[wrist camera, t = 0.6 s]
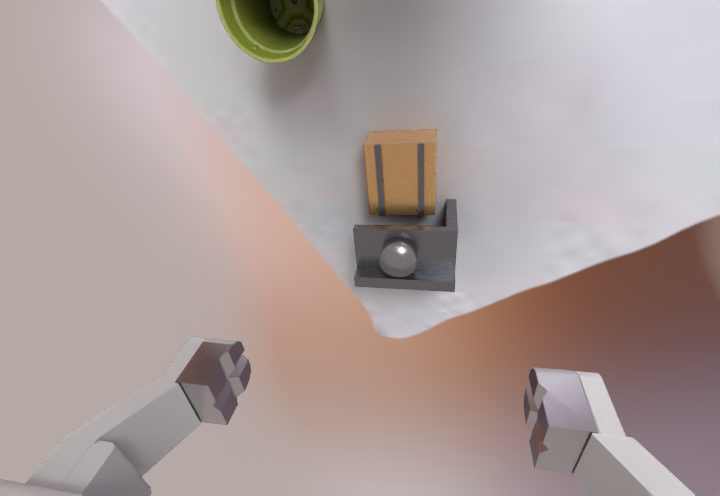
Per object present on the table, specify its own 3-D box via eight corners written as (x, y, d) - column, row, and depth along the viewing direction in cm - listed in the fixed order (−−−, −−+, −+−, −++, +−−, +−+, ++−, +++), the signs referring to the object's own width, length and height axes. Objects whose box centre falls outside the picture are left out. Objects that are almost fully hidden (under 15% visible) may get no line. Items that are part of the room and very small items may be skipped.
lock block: (370, 131, 46) (363, 145, 42) (436, 128, 45) (435, 143, 40) (376, 196, 51) (369, 216, 47) (435, 196, 50) (434, 216, 45)
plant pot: (332, -63, 36) (305, -76, 29) (345, 46, 41) (325, 58, 34) (244, -48, 38) (199, -56, 31) (267, 55, 43) (233, 67, 36)
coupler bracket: (364, 198, 52) (349, 237, 43) (456, 199, 49) (458, 240, 41) (368, 243, 56) (355, 286, 48) (453, 245, 53) (454, 291, 45)
